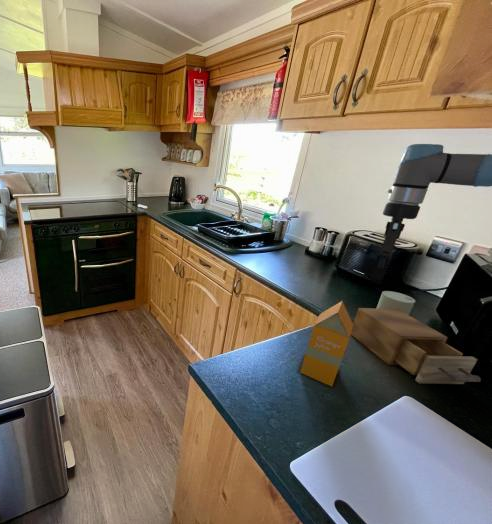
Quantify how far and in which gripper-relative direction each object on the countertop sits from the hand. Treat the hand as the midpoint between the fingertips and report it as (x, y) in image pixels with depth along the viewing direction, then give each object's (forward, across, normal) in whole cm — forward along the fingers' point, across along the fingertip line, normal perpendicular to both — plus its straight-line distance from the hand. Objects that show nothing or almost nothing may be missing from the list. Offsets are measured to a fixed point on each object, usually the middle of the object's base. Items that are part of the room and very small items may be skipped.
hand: (377, 272), depth 89 cm
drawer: (+22, +9, +17) cm, 29 cm away
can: (+23, -18, +8) cm, 30 cm away
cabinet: (+23, +1, +9) cm, 24 cm away
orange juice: (+23, +30, -5) cm, 38 cm away
